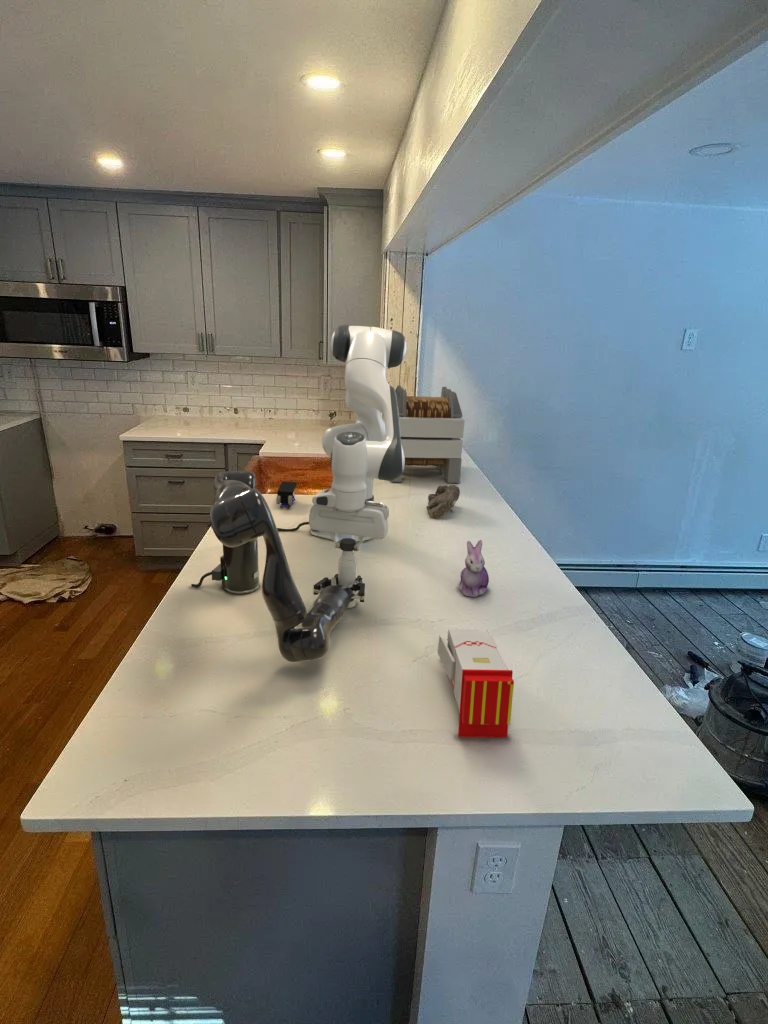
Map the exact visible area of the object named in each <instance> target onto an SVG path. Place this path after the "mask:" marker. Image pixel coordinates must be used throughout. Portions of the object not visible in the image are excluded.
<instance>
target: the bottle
mask: <svg viewBox="0 0 768 1024" xmlns="http://www.w3.org/2000/svg"><path fill="white" fill-rule="evenodd" d="M357 563H358V562H357V559H356V556H355V553H354V551H341V554H340V556H339V559H338V564H337V574H338V585H342V586H345V585H347V584H348V583H353V582H355V579H356V578H357ZM355 594H357V592H356V593H355ZM356 600H357V599H354V600H353V601H352V602H350V603H349V606H348V607H347V609H350V608H353V607H355V606H356Z"/></svg>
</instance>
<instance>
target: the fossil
mask: <svg viewBox="0 0 768 1024" xmlns="http://www.w3.org/2000/svg"><path fill="white" fill-rule="evenodd" d="M459 487H460V486H457V485H456V484H450V485H447V484H445V485H438V486H437V488H436V491H435V492H434V493H430V494H428V495H427V505H426V510H427V514H428V515H429V517H430V518H432V519H438V518H441V517H444V516H445V515H446V514H447V513H449V512H450V511H451V512H452V511H453V510H452V509H453V508H454V506H455V504H456V503H457V502H458V500H459V498H460V494H461V490H460V488H459Z"/></svg>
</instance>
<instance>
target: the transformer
mask: <svg viewBox="0 0 768 1024" xmlns="http://www.w3.org/2000/svg"><path fill="white" fill-rule="evenodd" d="M395 392H396V396H397V405H398V412H399V422H400V432H401V433H400V434H401V444H402V448H403V451H404V456H405V466H406V467H407V466H411V467H412V466H413V467H415V466H416V467H417V466H418V467H436V468H437V470H438V469H439V473H440V474H441V475H443V478H444V479H445V481H446V482H447V483H449V484H455V483H456V484H459V483H461V472H462V461H463V460H462V453H463V442H464V441H463V440H462V439H463V438H464V431H465V430H464V429H465V419H464V418H463V411H462V408H461V405H460V402H459V398H458V395H457V392H455V391H453V390H452V389H451V388H447V386H442V387H441V392H440V393H441V394H440V396H415V395H414V396H413V395H412V396H411V395H407V394H408V393H407V390H406V389H404V388H403V387H402V385H399V384H398V385H397V386H396V388H395ZM403 475H404V472H403V473H402V474H401V475H400V476H399V477H398V478H396V479H395V480H393V481H390V482H391V483H402V482H403Z"/></svg>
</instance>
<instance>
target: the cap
mask: <svg viewBox="0 0 768 1024" xmlns="http://www.w3.org/2000/svg"><path fill="white" fill-rule="evenodd" d="M356 543H357V542H356V541H355V540H354V539H351V538H344V539H342V540H341V541H340V549H339V550H341V552H343V551H353V552H355V551H354V545H355V544H356Z"/></svg>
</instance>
